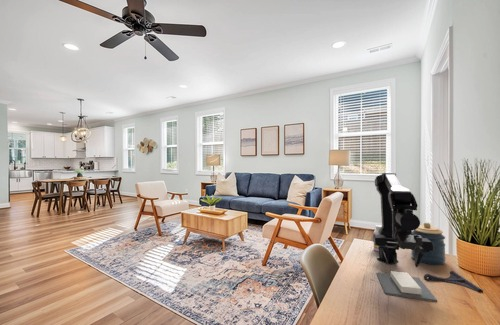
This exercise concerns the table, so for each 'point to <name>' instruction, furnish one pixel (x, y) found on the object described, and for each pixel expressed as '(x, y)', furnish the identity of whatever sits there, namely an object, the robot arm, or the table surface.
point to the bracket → (454, 280)
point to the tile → (405, 283)
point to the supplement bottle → (377, 234)
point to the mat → (393, 289)
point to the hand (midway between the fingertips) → (402, 264)
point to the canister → (437, 239)
